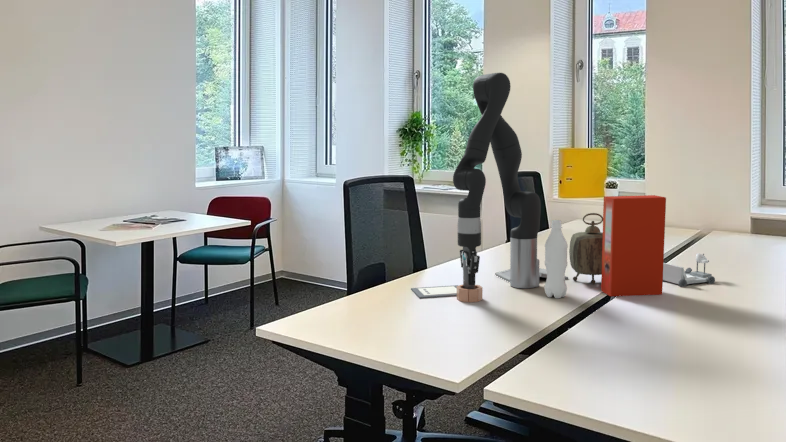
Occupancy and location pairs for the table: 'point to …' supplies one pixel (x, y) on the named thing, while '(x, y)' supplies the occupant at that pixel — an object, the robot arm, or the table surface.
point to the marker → (466, 276)
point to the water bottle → (556, 261)
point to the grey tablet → (435, 291)
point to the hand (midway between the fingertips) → (469, 283)
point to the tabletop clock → (587, 250)
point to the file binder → (633, 245)
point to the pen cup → (469, 294)
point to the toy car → (687, 273)
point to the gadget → (506, 274)
